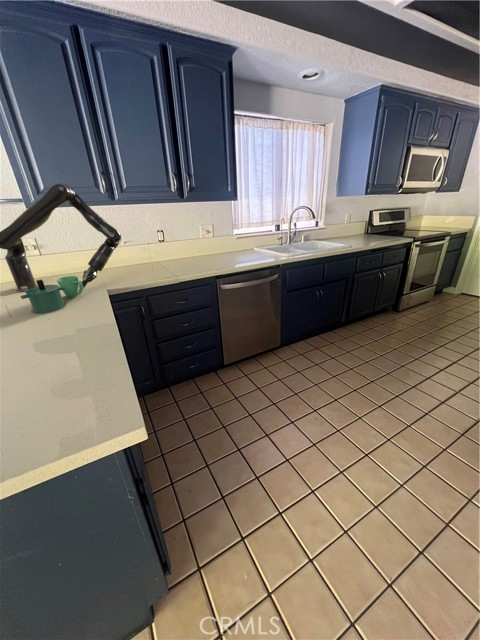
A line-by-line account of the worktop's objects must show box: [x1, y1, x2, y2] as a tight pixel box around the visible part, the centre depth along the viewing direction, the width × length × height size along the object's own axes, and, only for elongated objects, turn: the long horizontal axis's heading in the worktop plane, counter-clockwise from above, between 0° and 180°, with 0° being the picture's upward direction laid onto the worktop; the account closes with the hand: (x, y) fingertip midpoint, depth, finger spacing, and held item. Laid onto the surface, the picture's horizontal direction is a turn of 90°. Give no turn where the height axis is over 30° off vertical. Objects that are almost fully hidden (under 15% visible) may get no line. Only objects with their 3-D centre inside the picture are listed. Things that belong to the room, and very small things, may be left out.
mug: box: [56, 275, 85, 298], centre depth 145 cm, size 15×10×10 cm
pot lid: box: [24, 279, 60, 295], centre depth 127 cm, size 14×14×6 cm
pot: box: [20, 286, 65, 314], centre depth 130 cm, size 13×18×10 cm
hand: (81, 286), depth 148 cm, fingers closed
